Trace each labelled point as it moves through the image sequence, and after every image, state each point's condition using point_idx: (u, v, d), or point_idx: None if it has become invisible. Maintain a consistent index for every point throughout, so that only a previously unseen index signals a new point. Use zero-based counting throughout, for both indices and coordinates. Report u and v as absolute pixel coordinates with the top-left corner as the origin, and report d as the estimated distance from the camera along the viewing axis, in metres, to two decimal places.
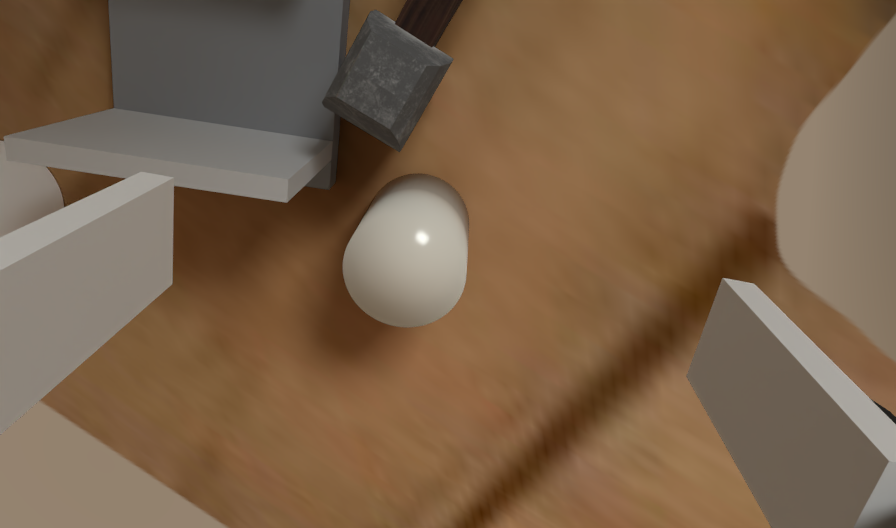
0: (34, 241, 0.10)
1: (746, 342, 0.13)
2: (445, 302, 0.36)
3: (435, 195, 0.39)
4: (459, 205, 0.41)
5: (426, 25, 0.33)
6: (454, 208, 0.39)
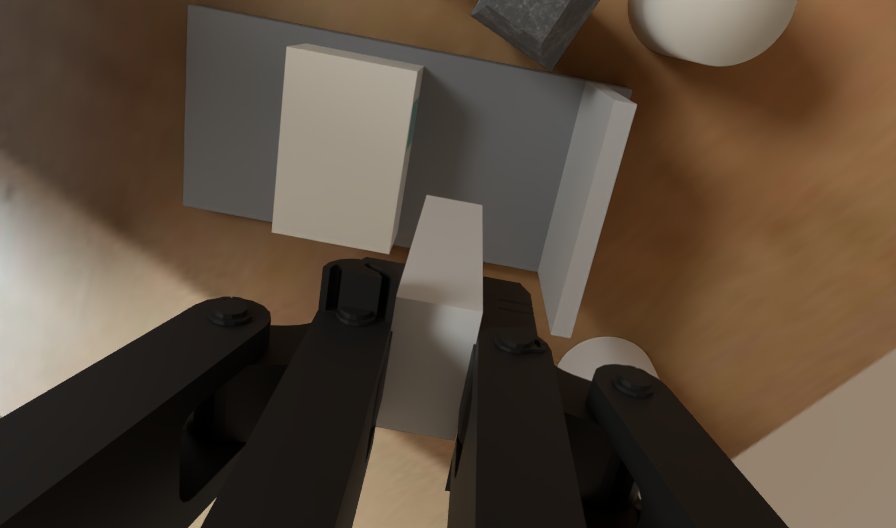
0: (432, 259, 0.13)
1: None
2: None
3: None
4: None
5: None
6: None
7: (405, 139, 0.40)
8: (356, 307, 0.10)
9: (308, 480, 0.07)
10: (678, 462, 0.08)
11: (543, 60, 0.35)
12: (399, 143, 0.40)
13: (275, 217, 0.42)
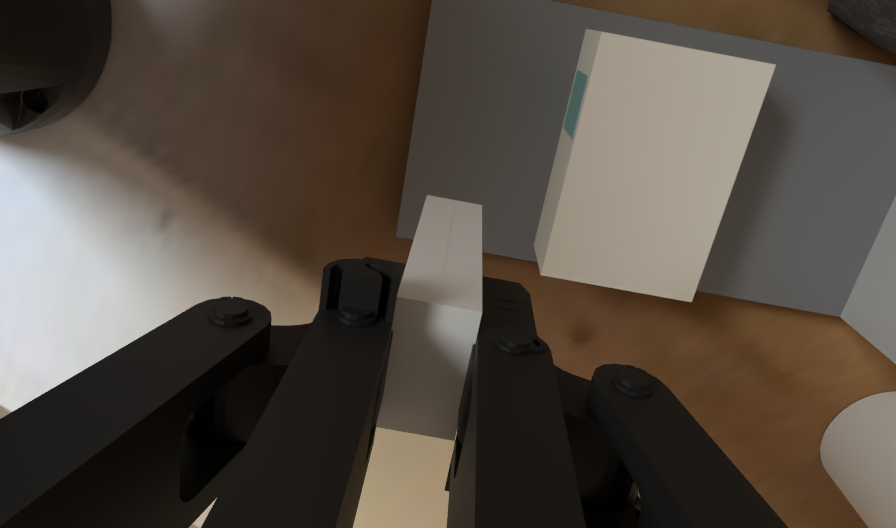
0: (433, 259, 0.13)
1: None
2: None
3: None
4: None
5: None
6: None
7: (741, 155, 0.30)
8: (357, 307, 0.10)
9: (309, 480, 0.07)
10: (678, 462, 0.08)
11: None
12: (732, 160, 0.30)
13: (548, 256, 0.32)
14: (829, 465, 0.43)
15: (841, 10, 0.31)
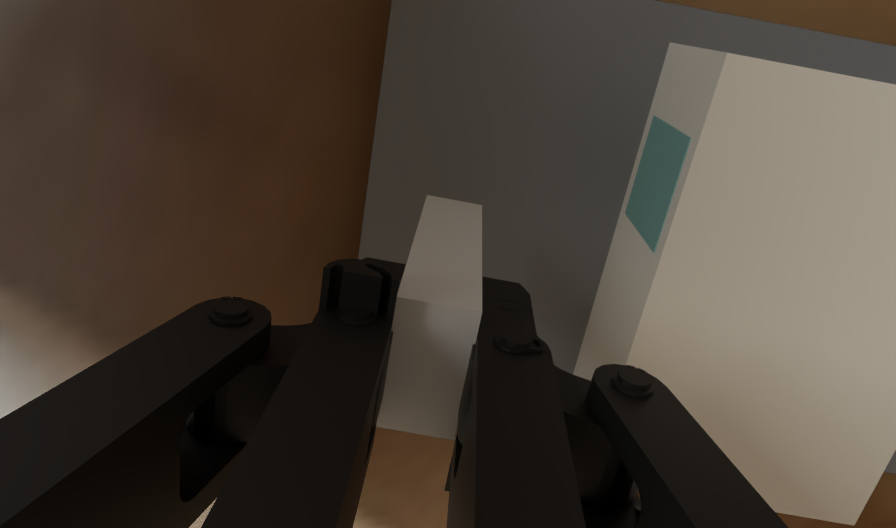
0: (433, 259, 0.13)
1: None
2: None
3: None
4: None
5: None
6: None
7: None
8: (357, 307, 0.10)
9: (308, 479, 0.07)
10: (678, 462, 0.08)
11: None
12: None
13: None
14: None
15: None
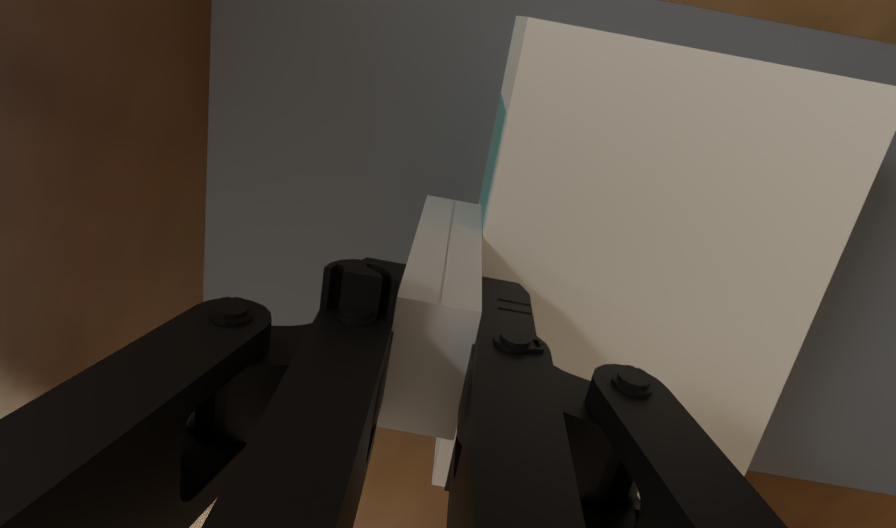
0: (433, 259, 0.13)
1: None
2: None
3: None
4: None
5: None
6: None
7: (828, 274, 0.14)
8: (357, 307, 0.10)
9: (309, 479, 0.07)
10: (677, 462, 0.08)
11: None
12: (808, 284, 0.15)
13: (444, 453, 0.17)
14: None
15: None
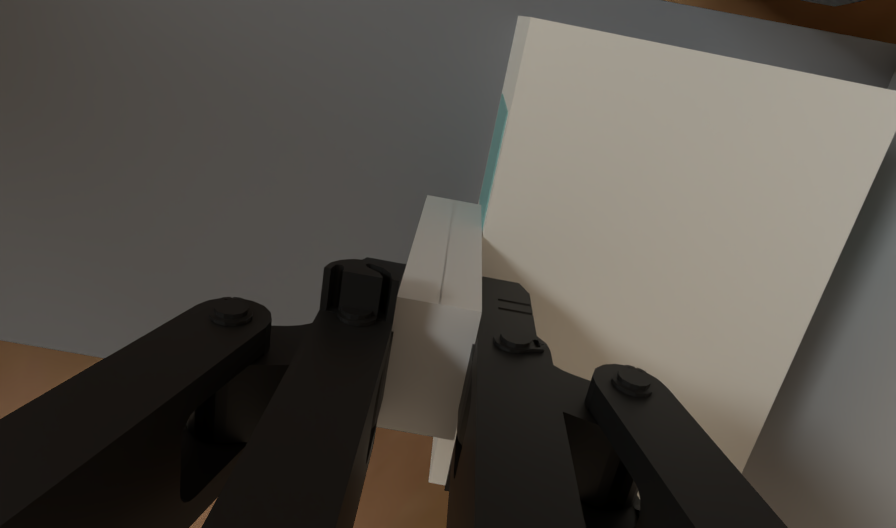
0: (433, 259, 0.13)
1: None
2: None
3: None
4: None
5: None
6: None
7: (825, 276, 0.15)
8: (357, 307, 0.10)
9: (309, 480, 0.07)
10: (677, 462, 0.08)
11: None
12: (806, 286, 0.15)
13: (442, 451, 0.17)
14: None
15: None
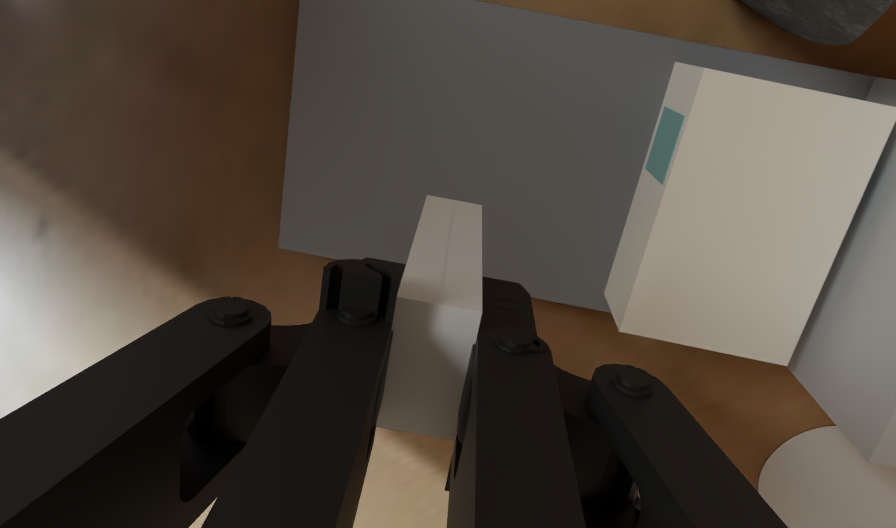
0: (433, 259, 0.13)
1: None
2: None
3: None
4: None
5: None
6: None
7: (855, 206, 0.27)
8: (357, 307, 0.10)
9: (309, 479, 0.07)
10: (678, 462, 0.08)
11: (875, 21, 0.22)
12: (844, 212, 0.27)
13: (629, 311, 0.29)
14: None
15: None
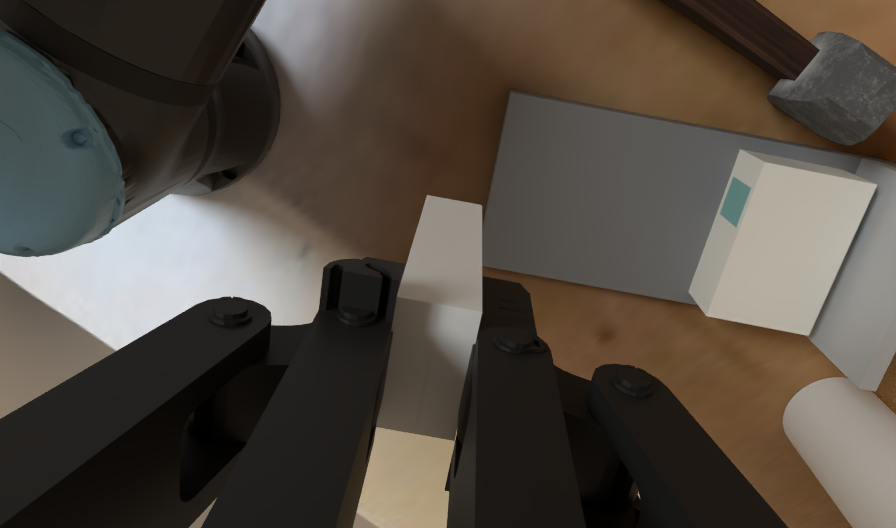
0: (433, 259, 0.13)
1: None
2: None
3: None
4: None
5: (801, 54, 0.41)
6: None
7: (850, 240, 0.45)
8: (357, 307, 0.10)
9: (309, 480, 0.07)
10: (677, 462, 0.08)
11: (860, 141, 0.40)
12: (844, 243, 0.45)
13: (713, 303, 0.48)
14: (789, 432, 0.57)
15: (775, 104, 0.46)
